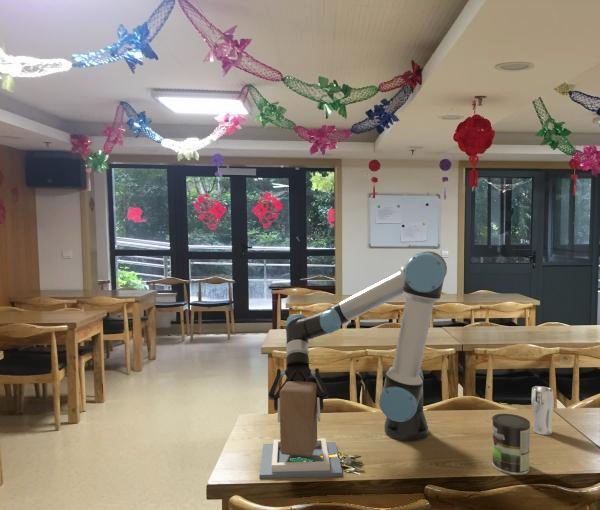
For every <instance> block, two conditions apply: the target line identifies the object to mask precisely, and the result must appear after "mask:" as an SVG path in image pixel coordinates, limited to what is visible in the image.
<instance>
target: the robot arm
mask: <svg viewBox="0 0 600 510" xmlns="http://www.w3.org/2000/svg"><path fill="white" fill-rule="evenodd" d="M447 266H448V265H447V263H446V260H445V259H444V258H443V257H442V256H441V255H440V254H439V253H437V252H435V251H423V252H417V253H416V254H415V255H413V256H412V257H410V259H409V260H408V261H407V263H406V264H405V265H403V266H401V268H400V270H399V271H397V272H395V273H393V274H392V275H390V276H387V277H386V278H384V279H382V280H380V281H378V282H376V283H374V284H372V285H370V286H368V287H366V288H364V289H363V290H361V291H359V292H356V293H355V294H353V295H352V296H349V297H347V298H345V299H343V300H342V301H340V302H338V303H336V304H334V305H331V306H329V307H327V308H326V309H324V310H322V311H321V312H318V313H315V314H313V315H310V316H308V317H306V315H304V314H301V313H297V314H296V313H294V314H291V315H290V316H288V317H287V319H286V326H285V332H286V347H285V348H286V350H285V351H286V362H285V363H286V365H285V367H286V368H285V370H284V369H283V370H281V369H280V368H277V369H276V376H275V377H274V380H273V383H272V385H271V387H270V390H269V391H268V400H270V401H271V400H272V401H273V409H274V412H275V411H276V412H277V423H280V390H281V389H282V388H283V386H284V385H285V383H286V382H288V381H297V382H313V381H312V380H311V378H310V376H311V375H312V377H314V378H315V381H316V384H317V385H318V387H319V388H318V387H317V392H316V393H317V422H321V411H323V410H324V400H325V399H326V400H327V399H328V398H329V391H328V389H327V387H326V385H325V383H324V381H323V379H322V377H321V375H320V369H319V368H318V367H317V368H315V369H311V368H310V357H309V340H312V339H315V338H318V337H321V336H325V335H328V334H333V333H334V332H337V331H339V330H340V329H341V326H342V325H344V324H346V323H348V322H350V321H352V320H353V319H355V318H357V317H360V316H361V315H364V314H365V313H368V312H370V311H372V310H373V309H376V308H378V307H380V306H382V305H384V304H385V303H388V302H390V301H392V300H394V299H396V298H398V297H400V296H402V295H404V296H405V303H404V307H403V313H402V317H401V323H400V327H399V332H398V338H397V343H396V348H395V352H394V353H395V354H394V358H393V362H392V366H390V367H389V369H388V370H386V373H385V378H384V384H383V388H382V391H381V393H380V395H379V398H378V399H379V400H378V405H379V408H380V410H381V412H382V413H383V415H384V416H385V421H384V425H383V427H384V433H385V434H386V435H388V437H390V438H392V439H395V440H399V441H404V442H405V441H407V442H415V441H421V440H424V439H426V438H427V437H428V436H429V425H428V422H427V418H426V416H425V413H424V373H423V370H422V369H421V367H422V363H423V358H424V352H425V348H426V343H427V337H428V333H429V329H430V323H431V320H432V319H431V318H432V315H433V314H432V313H433V309H434V305H435V302H438V301H439V300H440V299H441V295H442V290H443V286H444V282H445V281H444V280H445V278H446V275H447V272H448V267H447ZM284 375H285V377H286V379H285V380H284V382H283V383H282V385H281V386H280V387H279V385H280V382H281V379H282V378H283V377H284ZM278 387H279V389H278ZM277 389H278V390H277ZM319 389H320V390H319Z"/></svg>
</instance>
